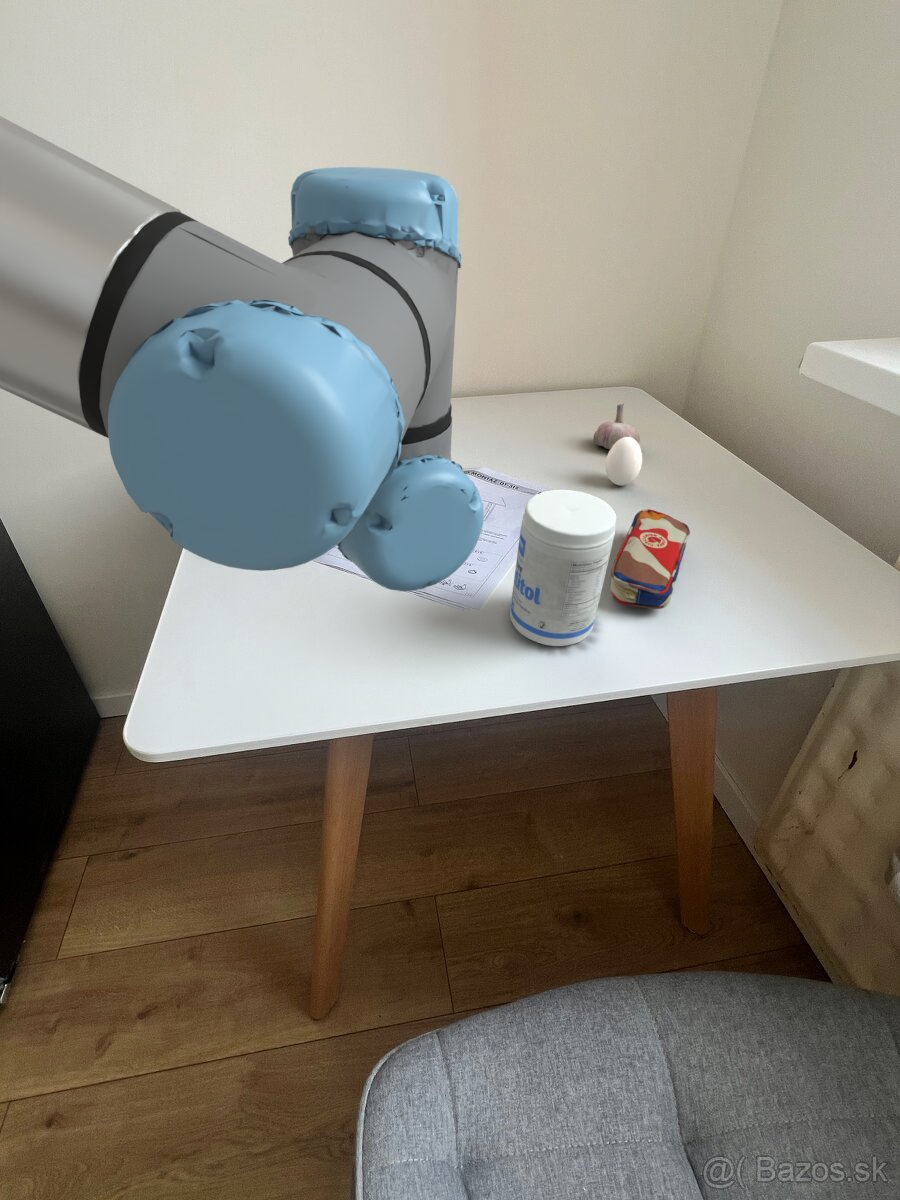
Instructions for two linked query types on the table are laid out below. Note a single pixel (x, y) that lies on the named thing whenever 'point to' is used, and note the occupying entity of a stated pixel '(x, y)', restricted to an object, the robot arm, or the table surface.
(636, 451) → the egg
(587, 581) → the supplement tub
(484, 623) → the table surface
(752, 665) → the table surface
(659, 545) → the pencil case
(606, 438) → the garlic bulb
